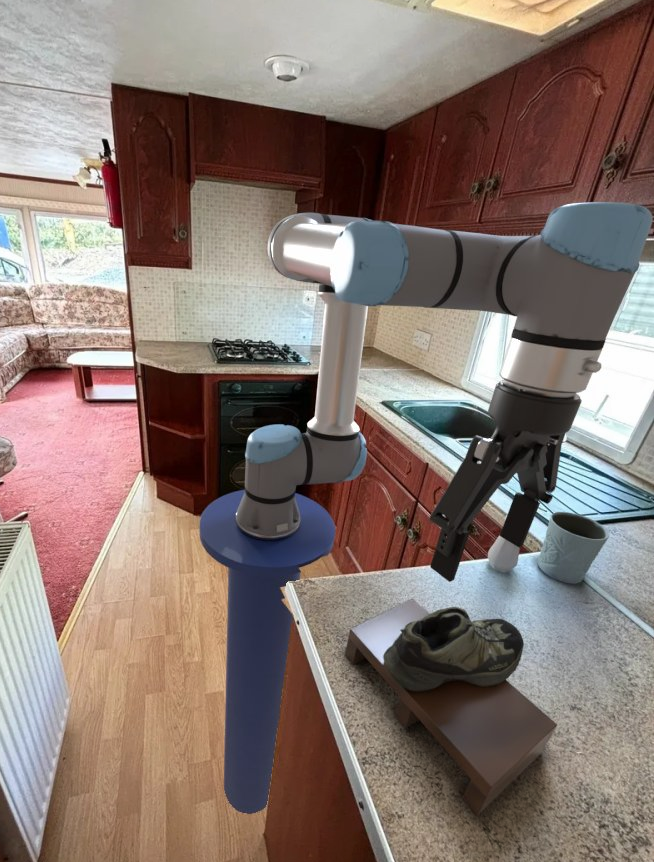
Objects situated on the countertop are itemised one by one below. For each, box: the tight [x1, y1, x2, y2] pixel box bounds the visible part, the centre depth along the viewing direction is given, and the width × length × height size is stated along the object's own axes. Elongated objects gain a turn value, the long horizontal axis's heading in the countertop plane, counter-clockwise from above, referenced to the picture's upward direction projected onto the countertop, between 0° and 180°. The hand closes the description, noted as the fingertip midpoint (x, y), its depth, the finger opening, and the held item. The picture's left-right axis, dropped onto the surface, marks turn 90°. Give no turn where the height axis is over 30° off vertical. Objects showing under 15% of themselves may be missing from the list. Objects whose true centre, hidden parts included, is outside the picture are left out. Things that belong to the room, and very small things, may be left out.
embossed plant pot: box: [537, 511, 610, 585], centre depth 86 cm, size 10×10×12 cm
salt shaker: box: [487, 514, 521, 574], centre depth 86 cm, size 6×6×13 cm
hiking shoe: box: [383, 606, 525, 692], centre depth 56 cm, size 8×21×9 cm, turn 107°
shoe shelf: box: [344, 598, 558, 817], centre depth 58 cm, size 24×14×6 cm, turn 31°
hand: (478, 556), depth 49 cm, fingers open, 13 cm apart
